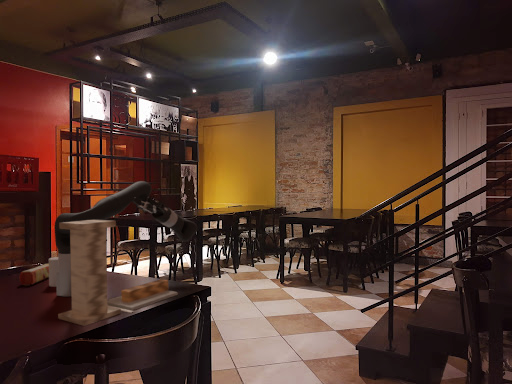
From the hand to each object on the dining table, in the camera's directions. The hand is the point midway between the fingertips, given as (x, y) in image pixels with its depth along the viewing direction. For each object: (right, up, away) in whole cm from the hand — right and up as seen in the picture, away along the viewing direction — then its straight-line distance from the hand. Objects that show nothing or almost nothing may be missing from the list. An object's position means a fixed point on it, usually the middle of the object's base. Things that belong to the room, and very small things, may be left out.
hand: (140, 198), depth 164 cm
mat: (+5, -39, -14) cm, 41 cm away
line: (-2, -39, -25) cm, 46 cm away
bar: (+6, -38, -12) cm, 40 cm away
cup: (-41, -39, +12) cm, 58 cm away
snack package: (-55, -40, +21) cm, 71 cm away
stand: (-7, -39, -33) cm, 52 cm away
